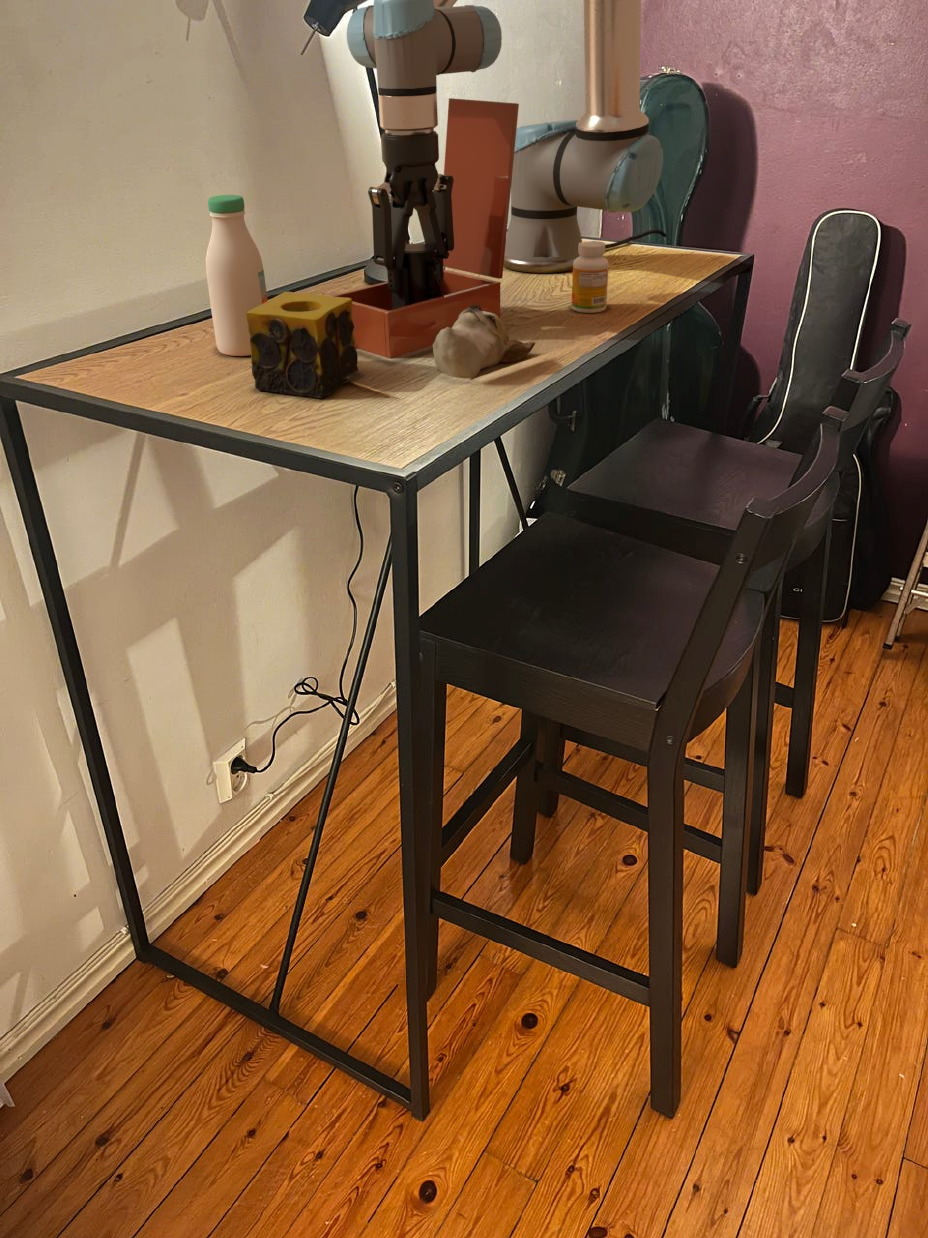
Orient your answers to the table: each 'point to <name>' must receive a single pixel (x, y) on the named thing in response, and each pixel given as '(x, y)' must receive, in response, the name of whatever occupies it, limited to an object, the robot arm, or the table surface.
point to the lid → (480, 182)
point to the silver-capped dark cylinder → (422, 272)
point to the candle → (302, 344)
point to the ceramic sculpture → (475, 344)
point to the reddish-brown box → (415, 314)
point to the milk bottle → (232, 274)
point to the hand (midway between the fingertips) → (417, 309)
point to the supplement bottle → (590, 278)
